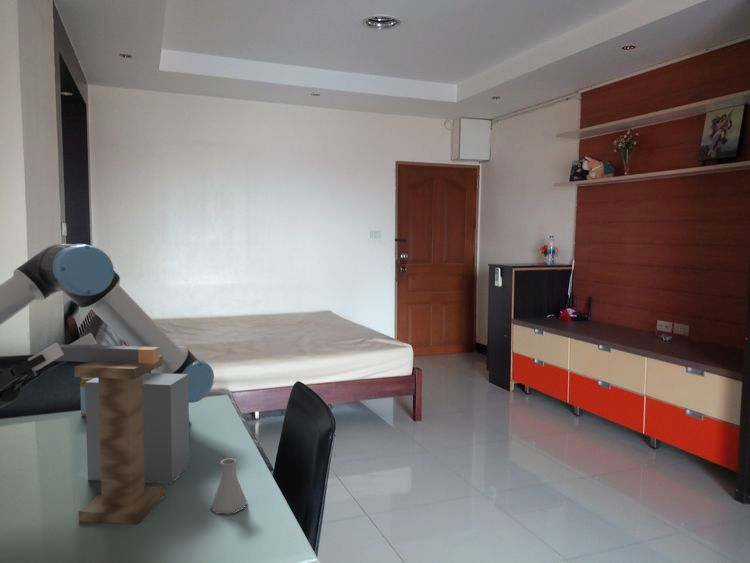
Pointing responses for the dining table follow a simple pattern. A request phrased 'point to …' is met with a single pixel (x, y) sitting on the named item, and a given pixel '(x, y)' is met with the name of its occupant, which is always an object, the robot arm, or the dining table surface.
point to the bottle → (83, 395)
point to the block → (149, 427)
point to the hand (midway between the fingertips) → (77, 343)
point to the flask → (228, 490)
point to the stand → (120, 444)
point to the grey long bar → (109, 354)
